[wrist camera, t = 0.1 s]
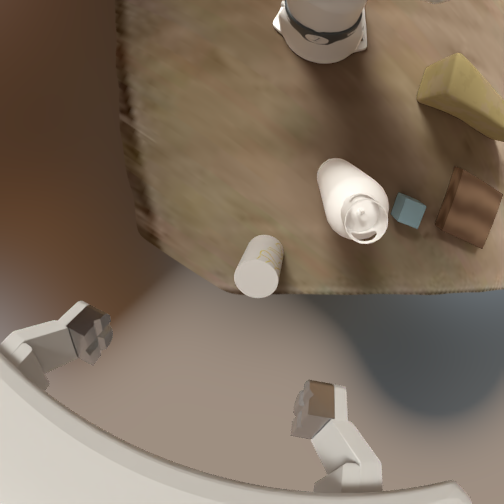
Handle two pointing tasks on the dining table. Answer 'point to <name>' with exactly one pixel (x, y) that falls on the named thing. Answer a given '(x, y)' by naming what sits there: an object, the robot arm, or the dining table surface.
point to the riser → (468, 208)
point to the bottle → (352, 201)
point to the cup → (260, 267)
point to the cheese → (463, 95)
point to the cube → (408, 210)
